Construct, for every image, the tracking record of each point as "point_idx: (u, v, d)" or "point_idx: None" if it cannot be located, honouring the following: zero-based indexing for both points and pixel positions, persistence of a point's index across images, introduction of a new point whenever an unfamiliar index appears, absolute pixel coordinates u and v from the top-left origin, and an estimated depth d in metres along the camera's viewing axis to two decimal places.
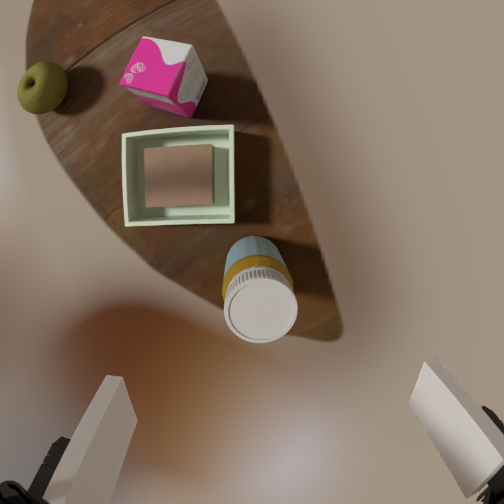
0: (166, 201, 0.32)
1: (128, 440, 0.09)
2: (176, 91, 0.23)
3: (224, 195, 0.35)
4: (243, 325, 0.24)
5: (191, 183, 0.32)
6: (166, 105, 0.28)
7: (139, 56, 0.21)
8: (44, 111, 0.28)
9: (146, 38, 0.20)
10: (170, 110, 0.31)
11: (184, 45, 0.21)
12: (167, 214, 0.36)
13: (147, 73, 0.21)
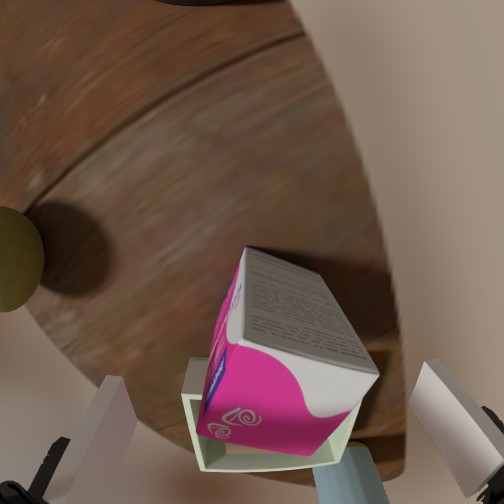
0: (255, 449, 0.21)
1: (128, 440, 0.09)
2: None
3: None
4: None
5: None
6: None
7: (241, 396, 0.09)
8: None
9: (256, 349, 0.09)
10: None
11: (362, 377, 0.09)
12: None
13: (268, 429, 0.10)
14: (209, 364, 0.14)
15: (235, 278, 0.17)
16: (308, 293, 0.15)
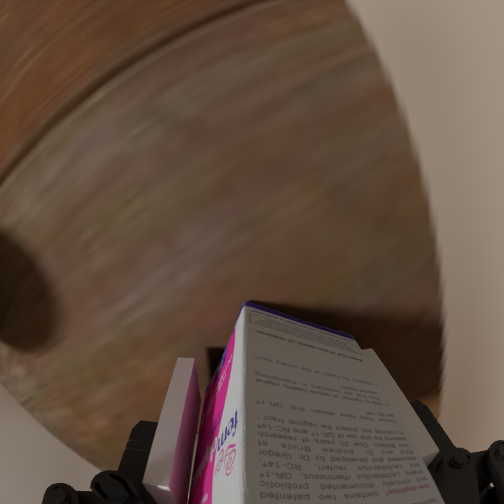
0: None
1: (196, 420, 0.11)
2: None
3: None
4: None
5: None
6: None
7: None
8: None
9: None
10: None
11: None
12: None
13: None
14: (190, 499, 0.07)
15: (228, 363, 0.10)
16: (353, 402, 0.08)
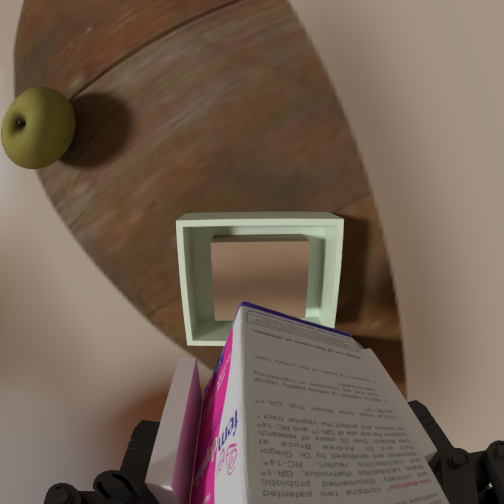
0: None
1: (197, 419, 0.11)
2: None
3: (311, 295, 0.28)
4: None
5: (279, 293, 0.24)
6: None
7: None
8: (44, 166, 0.20)
9: None
10: None
11: None
12: None
13: None
14: (192, 500, 0.07)
15: (226, 363, 0.10)
16: (352, 399, 0.08)
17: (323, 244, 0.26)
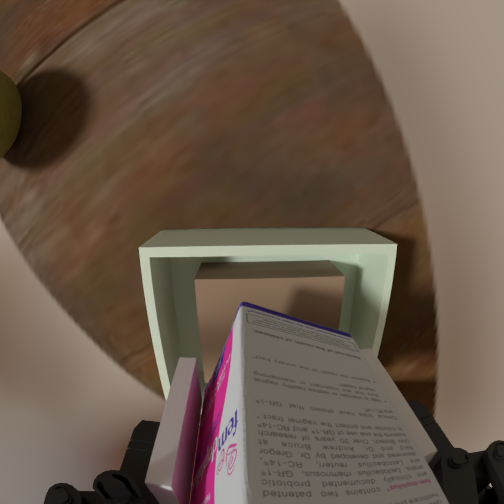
0: None
1: (197, 420, 0.11)
2: None
3: None
4: None
5: None
6: None
7: None
8: None
9: None
10: None
11: None
12: None
13: None
14: (192, 500, 0.07)
15: (226, 364, 0.10)
16: (352, 399, 0.08)
17: (357, 273, 0.18)
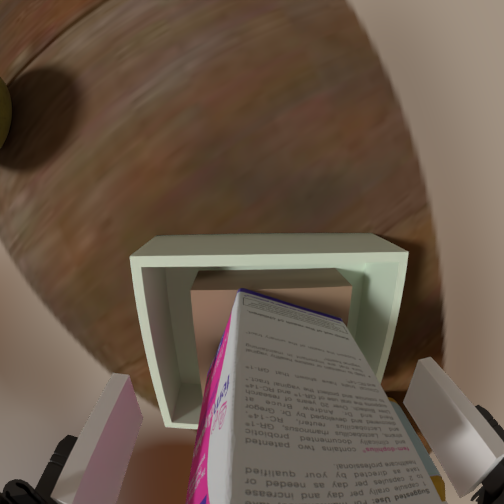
0: None
1: (134, 438, 0.10)
2: None
3: None
4: None
5: None
6: None
7: None
8: None
9: None
10: None
11: None
12: None
13: None
14: (192, 468, 0.08)
15: (224, 342, 0.11)
16: (335, 372, 0.09)
17: (363, 281, 0.17)
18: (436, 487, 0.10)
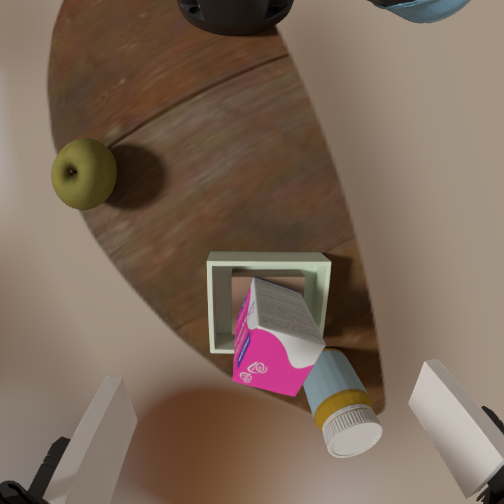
0: None
1: (128, 440, 0.09)
2: None
3: None
4: (339, 450, 0.24)
5: None
6: None
7: (257, 354, 0.21)
8: None
9: (264, 330, 0.20)
10: None
11: (316, 345, 0.21)
12: None
13: (270, 375, 0.21)
14: (236, 346, 0.25)
15: (248, 297, 0.29)
16: (291, 305, 0.26)
17: (315, 277, 0.34)
18: (362, 395, 0.27)
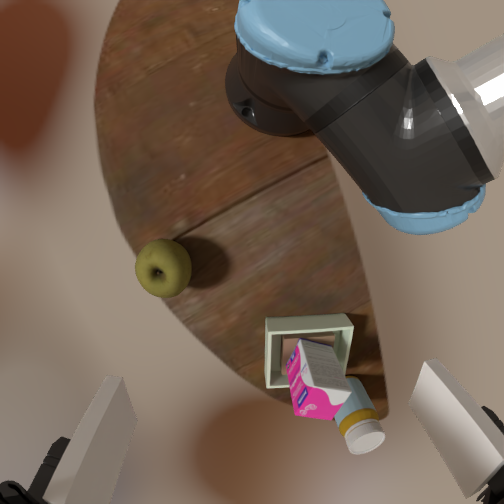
0: None
1: (128, 440, 0.09)
2: None
3: None
4: (356, 449, 0.35)
5: None
6: None
7: (312, 400, 0.31)
8: None
9: (317, 388, 0.31)
10: None
11: (346, 392, 0.31)
12: None
13: (318, 410, 0.32)
14: (292, 390, 0.36)
15: (298, 355, 0.39)
16: (328, 362, 0.37)
17: (340, 330, 0.45)
18: (371, 412, 0.38)
